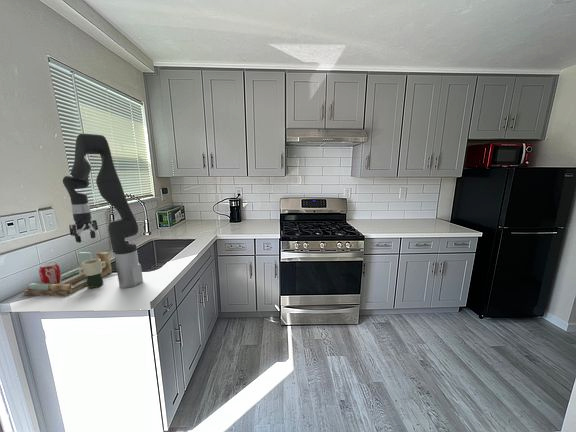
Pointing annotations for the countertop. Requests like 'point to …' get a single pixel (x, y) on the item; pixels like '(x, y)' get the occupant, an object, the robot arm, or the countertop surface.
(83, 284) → the oak sled
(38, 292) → the frame
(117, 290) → the countertop surface
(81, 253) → the sage sled
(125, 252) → the robot arm
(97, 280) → the character mug
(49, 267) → the soda can
